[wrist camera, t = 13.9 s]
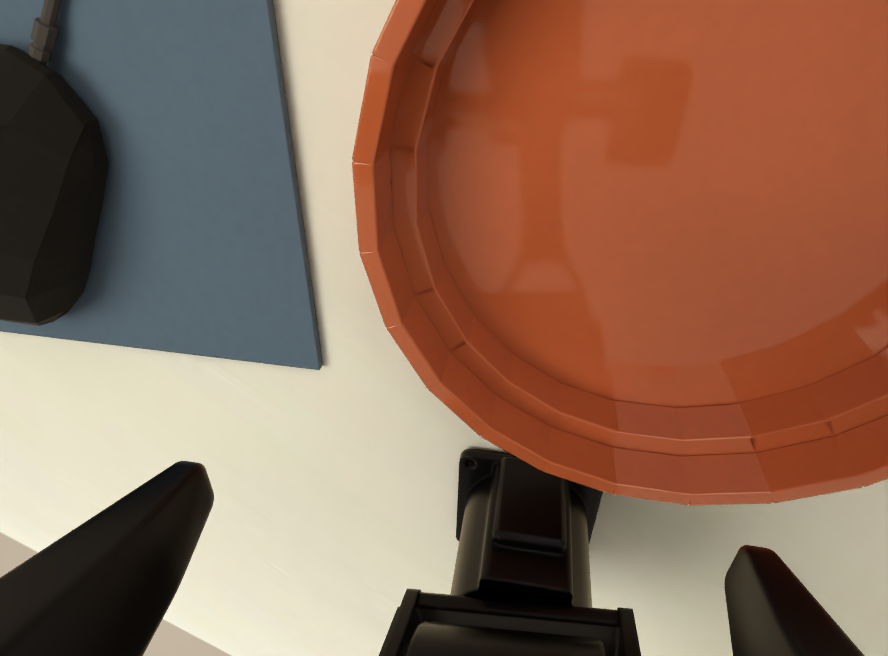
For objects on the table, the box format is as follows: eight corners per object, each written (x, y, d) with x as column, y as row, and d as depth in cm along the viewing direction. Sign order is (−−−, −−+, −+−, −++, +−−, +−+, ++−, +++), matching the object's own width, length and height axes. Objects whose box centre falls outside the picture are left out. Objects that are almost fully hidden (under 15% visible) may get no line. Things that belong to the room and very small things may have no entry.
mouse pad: (322, 364, 24) (319, 370, 24) (-90, 315, 27) (-98, 319, 26) (246, -198, 14) (238, -202, 14) (-404, -185, 17) (-423, -187, 16)
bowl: (901, 456, 21) (964, 545, 18) (399, 393, 24) (375, 461, 21) (1426, -303, 10) (1843, -430, 7) (373, -266, 13) (310, -343, 10)
